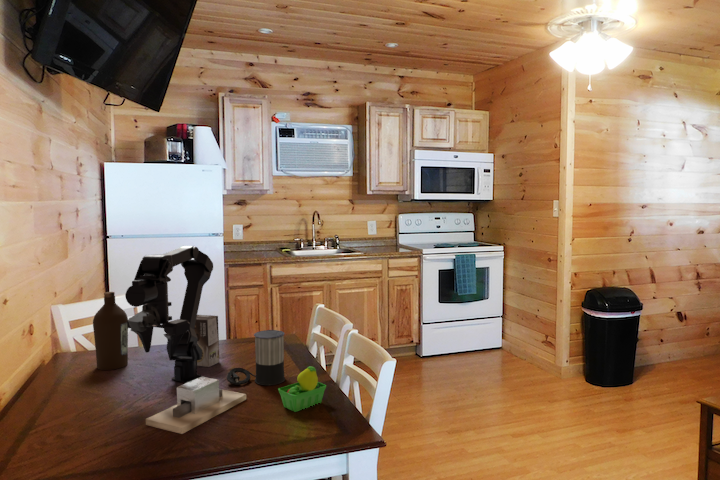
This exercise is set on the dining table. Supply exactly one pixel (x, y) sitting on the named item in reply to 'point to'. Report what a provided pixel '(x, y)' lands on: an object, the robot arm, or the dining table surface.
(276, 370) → the milk frother
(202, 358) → the coffee box
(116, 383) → the dining table surface
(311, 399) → the fruit basket
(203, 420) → the rail board
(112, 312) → the olive oil
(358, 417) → the dining table surface
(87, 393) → the dining table surface
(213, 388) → the saddle block
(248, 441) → the dining table surface
